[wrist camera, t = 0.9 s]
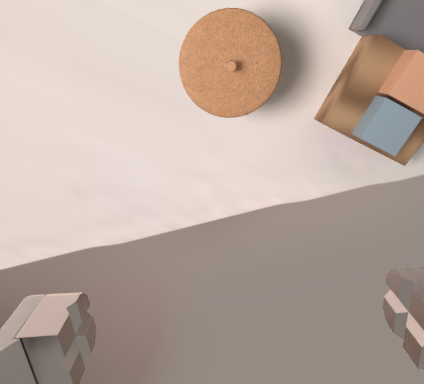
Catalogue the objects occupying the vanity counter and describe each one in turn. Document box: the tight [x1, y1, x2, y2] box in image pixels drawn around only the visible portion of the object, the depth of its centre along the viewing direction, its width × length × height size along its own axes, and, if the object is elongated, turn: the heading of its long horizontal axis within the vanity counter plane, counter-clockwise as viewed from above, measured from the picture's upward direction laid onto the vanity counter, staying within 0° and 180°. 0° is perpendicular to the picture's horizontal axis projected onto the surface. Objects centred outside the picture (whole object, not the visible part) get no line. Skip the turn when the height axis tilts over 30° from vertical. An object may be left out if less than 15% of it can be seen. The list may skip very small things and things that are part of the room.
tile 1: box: [378, 50, 424, 114], centre depth 38 cm, size 5×5×2 cm
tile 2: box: [352, 96, 422, 156], centre depth 39 cm, size 5×5×2 cm
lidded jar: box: [179, 8, 282, 118], centre depth 38 cm, size 11×11×9 cm
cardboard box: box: [314, 34, 424, 166], centre depth 42 cm, size 11×12×4 cm
